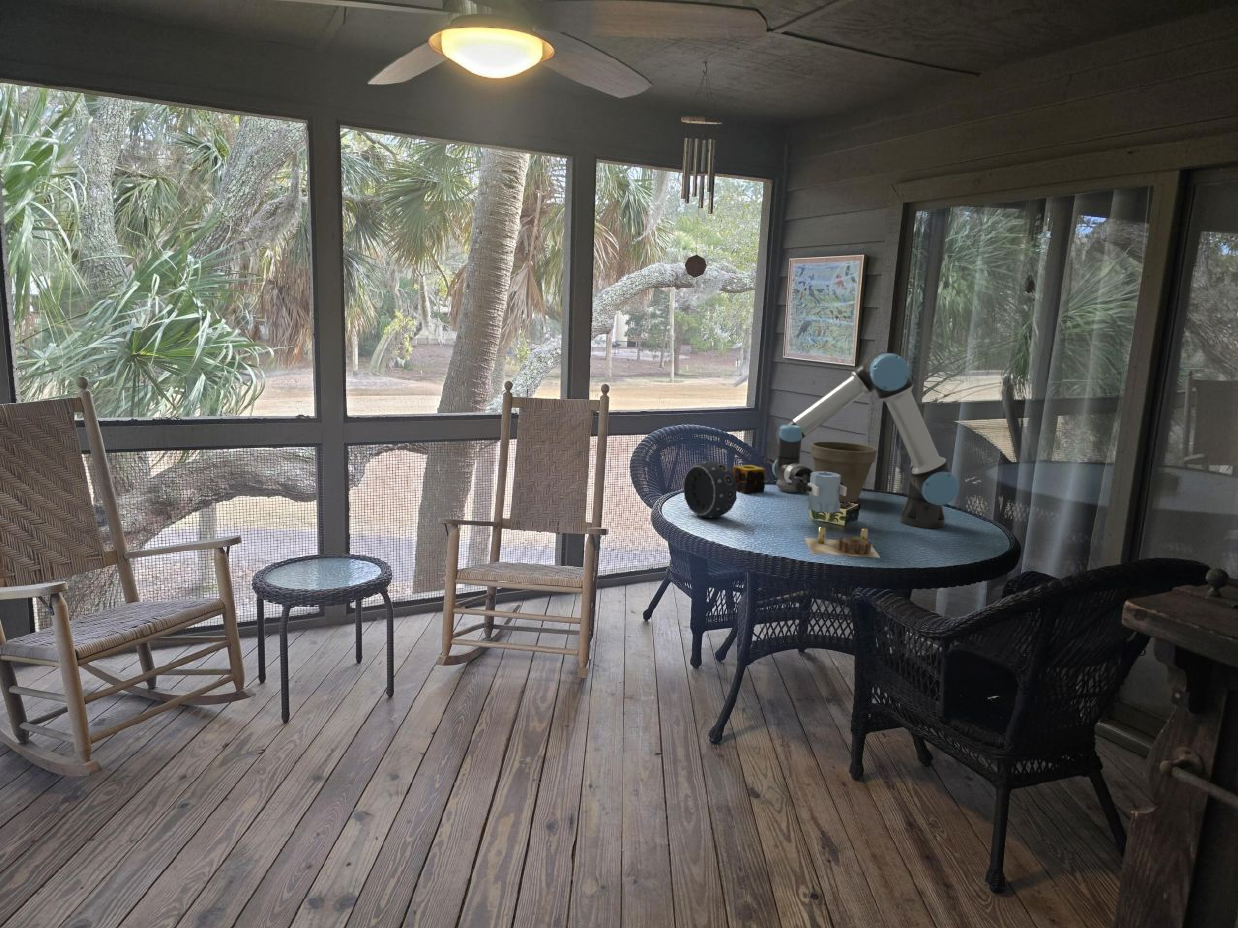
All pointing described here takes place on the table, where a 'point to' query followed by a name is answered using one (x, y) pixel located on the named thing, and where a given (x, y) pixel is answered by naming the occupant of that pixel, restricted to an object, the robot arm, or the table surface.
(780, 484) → the coffee pot
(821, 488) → the blue gear
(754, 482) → the candle
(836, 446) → the plant pot
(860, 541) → the fixed gear
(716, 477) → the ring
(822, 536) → the peg
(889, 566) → the table surface
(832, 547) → the gear board
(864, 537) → the far peg
